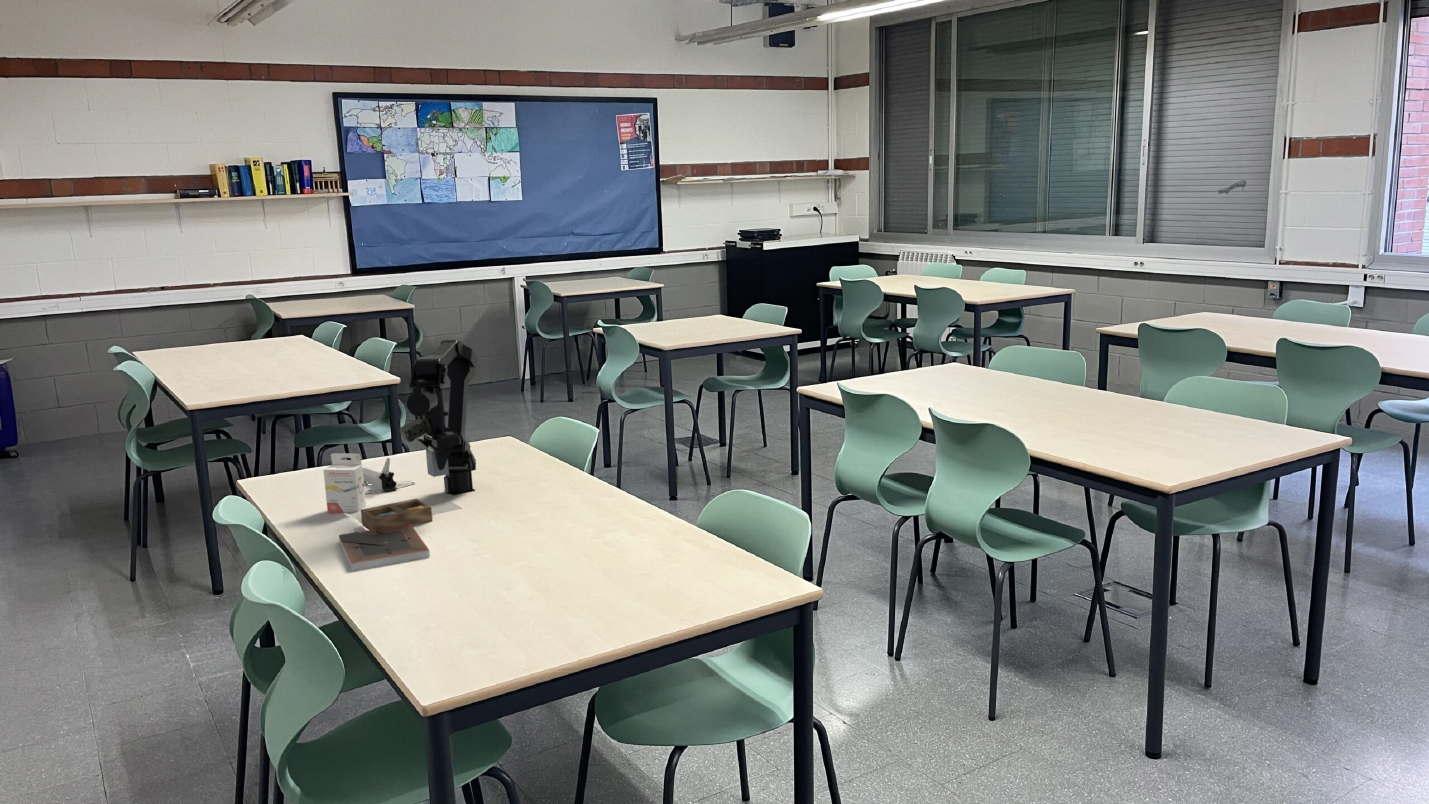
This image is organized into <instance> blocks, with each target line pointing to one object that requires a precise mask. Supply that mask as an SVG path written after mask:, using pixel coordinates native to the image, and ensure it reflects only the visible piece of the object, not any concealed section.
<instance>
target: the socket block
mask: <svg viewBox="0 0 1429 804" xmlns="http://www.w3.org/2000/svg"><path fill="white" fill-rule="evenodd" d="M360 517H361V525H362V527H364V528H365V529H367V531H370V530H376V529H382V528H388V527H395V526H401V525H407V524H411V525H412V526H417V525H421V524H426V523H431V522H433V515H432V510H431V507H430V505H428V504H426V503H425V502H423V501H421V500H420V499H418V498H411V499H408V500H407V499H406V500H402V501H401V500H400V501H398V502H397V501H396V502H392V503H387V504H382V505H377V506H373V507H372V506H371V507H367V508H363V509H362V510H360Z"/></svg>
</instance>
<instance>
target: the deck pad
mask: <svg viewBox="0 0 1429 804" xmlns="http://www.w3.org/2000/svg"><path fill="white" fill-rule="evenodd" d="M429 506H430V507H431V510H432V516H433V515H439V514H443V513H447V512H451V511H457V510H461V509H463V507H462V506H460V505H458V504H456V503H454V502H452V501H445V502H440V503H436V504H431V505H429Z"/></svg>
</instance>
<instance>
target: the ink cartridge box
mask: <svg viewBox="0 0 1429 804" xmlns="http://www.w3.org/2000/svg"><path fill="white" fill-rule="evenodd" d="M344 458H348V459H344ZM330 459H331V465H329V466H327V467H325V468H324V469H323V479H324V489H325V499H326V507H327V508H326V509H327V514H348V512H349V513H350V512H356V513H357V512H361V510H362V509H366V507H367V502H366V500H367V499H366V494H365V489H364V487H365V481H364V478H363V468H364V467H363V465H362V458H361V454H360V453H331V454H330Z"/></svg>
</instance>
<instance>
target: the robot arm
mask: <svg viewBox="0 0 1429 804" xmlns="http://www.w3.org/2000/svg"><path fill="white" fill-rule="evenodd" d="M477 366H478V356H477V355H476V353H475V352H474V349H473V348H471V347H469V346H467V345H465V344H464V343H463V341H462V340H460V339H444V340H441V341H440V344H439V346H438V347H437V348H436V349H435V350H433V352H432V353H430V355H425V356H421V357H418V358H416V360H415V361H414V363H413V364H412V367H411V375H410V376H411V377H410V382H409V389H413V393H412V394H411V395H409V396H408V398H407V401H406V408H407V410H408V412H409V413H410V414H412V415H413V416H416V417H417V419H414V420H411V421H410V422H408V423H406V424H404V425H402V426H400V427H399V428H398V429H399V433H400V434H401V436H402V438H403V440H404V441H407V443H412V442H414V441H415V440H416V441H417V442H419V443H420V444H421V445H423V446H424V448H425V451H426V450H428V447H431V448H432V449H433V450H434V451H435V455H436V460H437V464H438V468H439V470H443V469H444V467H445V464H446V462H447V459H448V468H449V474H447V475H444V477H443V483H444V484H443V485H444V492H445V493H448V494H450V495H452V496H458V495H462V494H467V493H472V492H476V489H475V488H474V487H473V475H472V472H473V471H476V470H477V459H476V457H475V456H474V454H473V452H472V450H471V444H470V441H468V438H467V437H466V423H467V422H466V419H467V404H468V388H469V387H468V386H469V384H470V382H471V380H472V379H473V377H475V373H476V368H477ZM447 377H448V379H449V382H450V383H449V386H450V387H449V397H448V398H449V399H448V410H446V407H445V396H444V395H445V393H444V386H445V384H446V380H447ZM446 417H447V418H446ZM417 438H418V439H417Z"/></svg>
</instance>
